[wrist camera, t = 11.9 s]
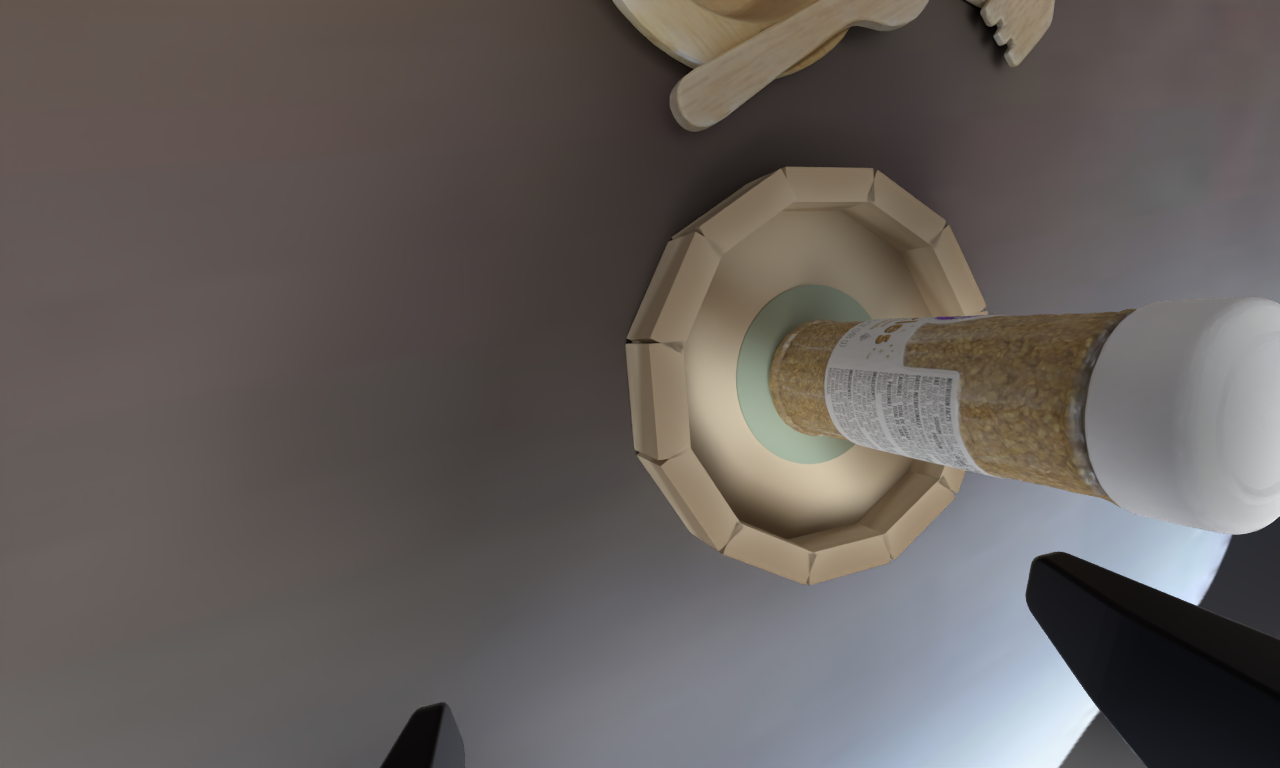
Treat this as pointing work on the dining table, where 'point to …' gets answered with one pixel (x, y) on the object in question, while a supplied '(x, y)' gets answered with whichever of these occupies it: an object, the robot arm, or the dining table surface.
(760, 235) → the tray
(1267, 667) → the robot arm
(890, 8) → the tableware set
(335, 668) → the dining table surface
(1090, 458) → the sprinkles bottle
